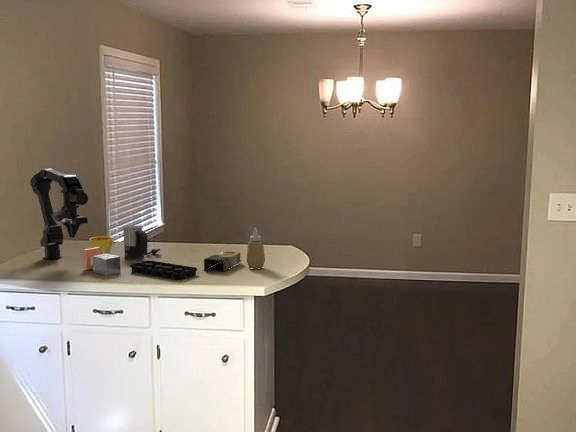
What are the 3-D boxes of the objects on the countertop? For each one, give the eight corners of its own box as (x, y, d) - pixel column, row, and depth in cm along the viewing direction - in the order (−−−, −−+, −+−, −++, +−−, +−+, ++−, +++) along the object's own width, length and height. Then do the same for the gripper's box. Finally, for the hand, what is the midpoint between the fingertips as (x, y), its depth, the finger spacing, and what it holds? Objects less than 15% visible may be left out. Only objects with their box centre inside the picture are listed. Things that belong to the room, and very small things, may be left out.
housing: (93, 271, 291) (92, 256, 289) (107, 269, 296) (106, 253, 295) (106, 275, 284) (105, 259, 283) (120, 272, 289) (120, 256, 288)
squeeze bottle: (267, 267, 298) (267, 226, 296) (261, 271, 291) (260, 230, 288) (250, 266, 301) (250, 226, 298) (243, 269, 293) (243, 229, 291)
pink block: (84, 269, 295) (83, 249, 293) (98, 266, 300) (97, 247, 299) (98, 272, 288) (97, 252, 287) (112, 269, 293) (111, 250, 292)
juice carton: (222, 261, 310) (222, 248, 309) (242, 263, 307) (242, 250, 306) (202, 272, 291) (202, 258, 290) (223, 274, 288) (223, 260, 287)
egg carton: (144, 267, 301) (144, 259, 300) (204, 273, 290) (204, 264, 290) (121, 276, 284) (121, 267, 284) (184, 282, 274) (184, 273, 273)
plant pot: (107, 261, 311) (106, 240, 309) (86, 260, 313) (85, 239, 312) (117, 256, 321) (116, 236, 319) (97, 256, 323) (96, 235, 322)
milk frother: (119, 258, 317) (118, 227, 315) (139, 252, 332) (138, 222, 329) (145, 261, 312) (144, 229, 310) (164, 254, 326) (163, 224, 324)
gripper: (42, 203, 303) (44, 237, 305) (65, 206, 291) (67, 242, 293) (65, 200, 311) (66, 234, 313) (88, 204, 299) (89, 239, 301)
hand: (72, 237), depth 305 cm, fingers closed
